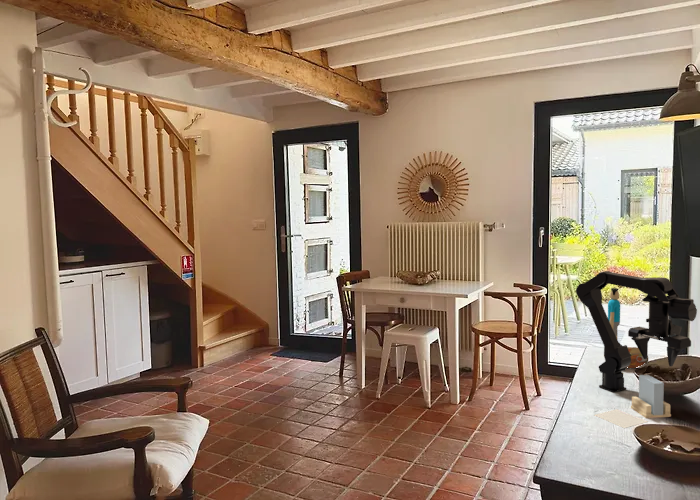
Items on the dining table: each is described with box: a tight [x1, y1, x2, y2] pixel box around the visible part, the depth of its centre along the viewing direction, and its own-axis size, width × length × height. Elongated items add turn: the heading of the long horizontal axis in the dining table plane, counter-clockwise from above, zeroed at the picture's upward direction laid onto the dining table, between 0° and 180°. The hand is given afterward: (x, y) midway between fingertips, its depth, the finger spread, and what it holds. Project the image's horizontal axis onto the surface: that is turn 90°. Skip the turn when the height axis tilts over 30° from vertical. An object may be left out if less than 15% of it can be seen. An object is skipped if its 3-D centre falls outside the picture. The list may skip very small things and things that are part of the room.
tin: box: [626, 346, 649, 368], centre depth 214 cm, size 15×3×8 cm, turn 73°
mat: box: [594, 408, 649, 429], centre depth 166 cm, size 11×10×1 cm
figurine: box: [607, 287, 621, 340], centre depth 225 cm, size 16×6×30 cm, turn 145°
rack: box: [630, 396, 672, 419], centre depth 170 cm, size 8×8×4 cm
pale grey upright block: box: [638, 374, 665, 415], centre depth 169 cm, size 8×3×10 cm, turn 3°
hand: (657, 362), depth 178 cm, fingers open, 9 cm apart
